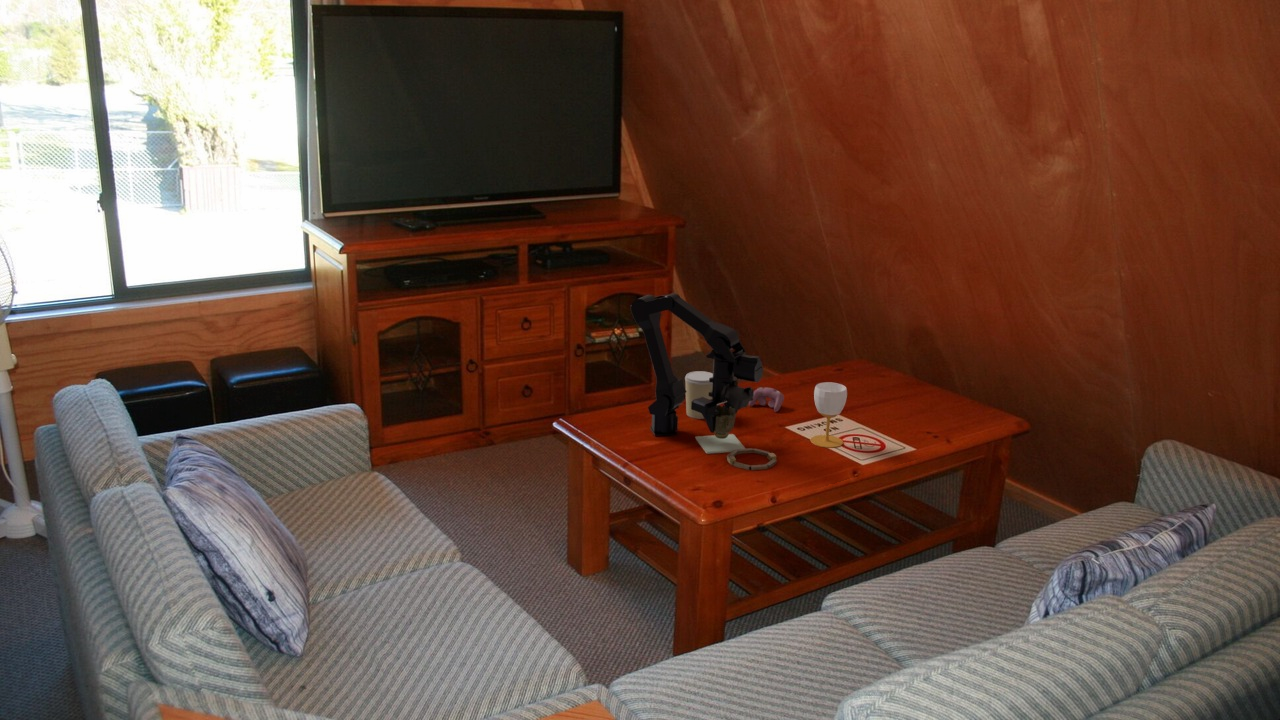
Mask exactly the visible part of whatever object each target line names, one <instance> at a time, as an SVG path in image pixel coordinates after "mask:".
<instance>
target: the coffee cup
mask: <svg viewBox="0 0 1280 720" xmlns="http://www.w3.org/2000/svg"><path fill="white" fill-rule="evenodd" d="M711 377H713V372H710V371H709V372H708V371H705V370H704V371H703V370H702V371H700V370H699V371H690V372H688V373H686V375H685V377H684V380H685V390H686V391H687V392H686V393H685V407H686V408H685V411H686V416H687V417H689V418H691V419H699V420H700V419H701V420H705V419H704V417H703V415H702V413H700V412H697V411H694V410H692V409H691V402H692V401H693V400H694V399H698V398H701V397H704V398H707V399H710V400H711V399H712V397H710V396H709V392H712V382H709V378H711Z"/></svg>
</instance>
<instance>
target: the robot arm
mask: <svg viewBox="0 0 1280 720" xmlns="http://www.w3.org/2000/svg"><path fill="white" fill-rule="evenodd" d="M665 311H669V312H670V313H671V314H673V315H675V316H676V317H677V318H678V319H680V320H681V321H683V322H684V323H685V324H687V325H688V326H689V327H691V328H692V329H694V330H695V331H696V332H697V333H699V334H700V335H701V336H702V338H704V340H705V342H706V344H707V346H709V347H710V348H711V351H710V352H709V353H708V354H706V356H705V357H706V358H707V359H711V360H712V359H713V362H712V363H713V364H712V373H713V377H711V378H709V382H712V392H709V396H710V397H712V399H711V400H710V399H707V398H704V397H701V398H698V399H694V400H693V401H692V402H691V409H692V410H694V411H697V412H700V413H702V415H703V417H704V419H703V420H704V421H705V423H706V426H707V427H708V431H709V432H710V433H712V434H713V433H714V434H715V432H714V430H715V423H716V416H717V415H718V414H719V413H720V412H719V411H716V410H717V405H719V406H720V405H722V404H724V406H725V408H726V409H727V408H728V409H729V407H730V406H731V407H732V408H735V410H736V414H737V413H738V411H739V410H741V409H744V408H745V409H746V408H747V407H748V406H749V401H752V400H753V396H754V391H755V390H754V388H752V386H747V387H742V386H739V385H738V384H739V382H738V380H743V381H749V382H753V383H759V382H760V381H761V380H762V377H763V373H764V366H763V363H762V361H761V356H759V355H748V354H747V351H746V349H745V348H744V346H743V344H742V341H740V336H739V333H738V332H737V331H736V330H735V329H734V328H732V327H730V326H728V325H725V324H723V323H720V322H716V321H715V320H712V319H711V318H709V317H708V316H706V315H705V314H704V313H702V312H701V311H700V310H698V309H697V308H695V307H694V306H693V305H692V304H690V303H688V302H687V301H686V300H684V298H681V296H680V295H679V294H677V293H674V292H673V293H670V294H663V295H658V296H654V295H653V294H646V295H644V296H642V297H639V298H637V299H634V300H633V301H632V303H631V305H630V313H631V316H632V318H633V319H634V322H635V323H636V324H637V326H638V327H639V328H640V329H641V330H642V332H643V335H644V336H643V337H644V339H645V343H646V346H647V350H648V354H649V357H650V361H651V364H652V368H653V372H654V375H655V378H656V382H655V390H654V391H655V400H654V401H653V402H651V404H650V405H649V406H648V407H647V408H648V412H649V414H650V415H651V426H649V428H650V431H651V432H652V434H653V435H654V436H655V437H659V436H660V437H663V436H664V437H665V436H675V435H676V436H678V432H677V431H678V430H679V429H678V428H679V427H678V426H679V423H678V422H679V417H678V415H677V411H676V410H678V409H679V408H680V405H681V404H683V403H684V402H685V400H686V392H687V391H686V387H685V386H684V379H683V378H680V379H678V378H677V377H676V376H675V375H674V372H673V368H672V364H671V362H670V357H669V355H668V350H667V346H666V343H665V339H664V337H663V333H662V329H661V318H662V317H661V316H662V312H665ZM732 350H734V351H732ZM735 378H736V379H735Z"/></svg>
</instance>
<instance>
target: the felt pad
mask: <svg viewBox="0 0 1280 720" xmlns="http://www.w3.org/2000/svg"><path fill="white" fill-rule="evenodd" d="M695 440H696V442H697V443H698V444H699V446H700V447H701V448H702V449H703V451H704V452H705V453H706V454H721V453H722V454H724V453H731V452H732V451H734V450H737V449H746V447H745V446H744V445H743V444H742V442H741V441H740V440H739V439H738V438H737V437H736V435H735V434H733V433H728V437H727V438H724V439H720V438H717V437H716V436H715V434H714V435H700V436H695Z"/></svg>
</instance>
